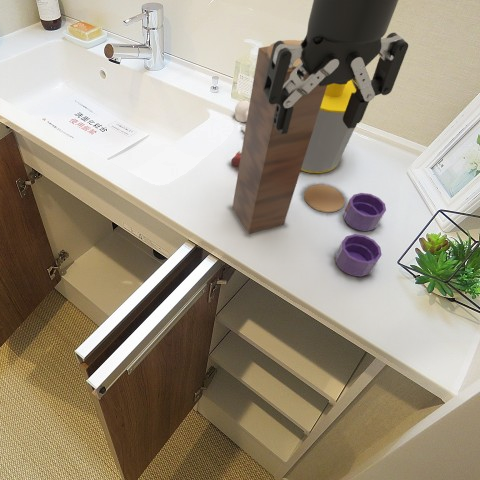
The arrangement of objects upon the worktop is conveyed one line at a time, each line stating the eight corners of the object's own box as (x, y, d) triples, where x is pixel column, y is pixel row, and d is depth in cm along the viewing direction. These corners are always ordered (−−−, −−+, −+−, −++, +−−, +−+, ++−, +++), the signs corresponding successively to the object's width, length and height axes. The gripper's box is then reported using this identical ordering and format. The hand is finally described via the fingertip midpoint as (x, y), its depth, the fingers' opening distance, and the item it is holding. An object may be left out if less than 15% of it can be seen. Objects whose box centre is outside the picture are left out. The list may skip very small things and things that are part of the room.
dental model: (230, 149, 82) (252, 132, 86) (227, 166, 85) (248, 148, 89) (253, 162, 80) (275, 143, 84) (249, 178, 83) (271, 160, 87)
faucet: (248, 130, 101) (244, 89, 96) (293, 149, 86) (292, 103, 81) (233, 135, 100) (229, 94, 95) (277, 156, 86) (274, 109, 80)
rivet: (269, 154, 88) (270, 148, 87) (262, 157, 88) (264, 151, 87) (244, 128, 94) (245, 122, 93) (238, 130, 93) (239, 124, 92)
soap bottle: (287, 177, 83) (316, 76, 67) (273, 138, 91) (295, 40, 75) (352, 174, 83) (396, 73, 67) (331, 135, 91) (366, 38, 75)
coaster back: (352, 207, 77) (352, 206, 77) (317, 216, 76) (317, 215, 76) (329, 182, 82) (330, 181, 82) (296, 190, 80) (297, 189, 80)
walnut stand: (283, 224, 75) (334, 62, 52) (248, 234, 73) (284, 72, 51) (265, 199, 79) (305, 39, 56) (232, 207, 78) (258, 47, 55)
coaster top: (336, 63, 52) (337, 61, 52) (284, 73, 50) (284, 70, 50) (305, 38, 56) (306, 36, 56) (256, 47, 55) (256, 45, 55)
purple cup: (384, 227, 74) (393, 212, 71) (355, 235, 73) (363, 220, 70) (363, 205, 78) (371, 189, 74) (336, 213, 76) (343, 197, 73)
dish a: (379, 272, 68) (389, 257, 65) (348, 281, 66) (356, 267, 63) (357, 246, 71) (365, 230, 68) (327, 254, 70) (334, 239, 67)
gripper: (301, -2, 36) (267, 151, 48) (457, -13, 36) (384, 140, 49) (274, -31, 40) (250, 115, 53) (413, -39, 41) (357, 106, 54)
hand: (315, 127), depth 51 cm, fingers open, 8 cm apart
